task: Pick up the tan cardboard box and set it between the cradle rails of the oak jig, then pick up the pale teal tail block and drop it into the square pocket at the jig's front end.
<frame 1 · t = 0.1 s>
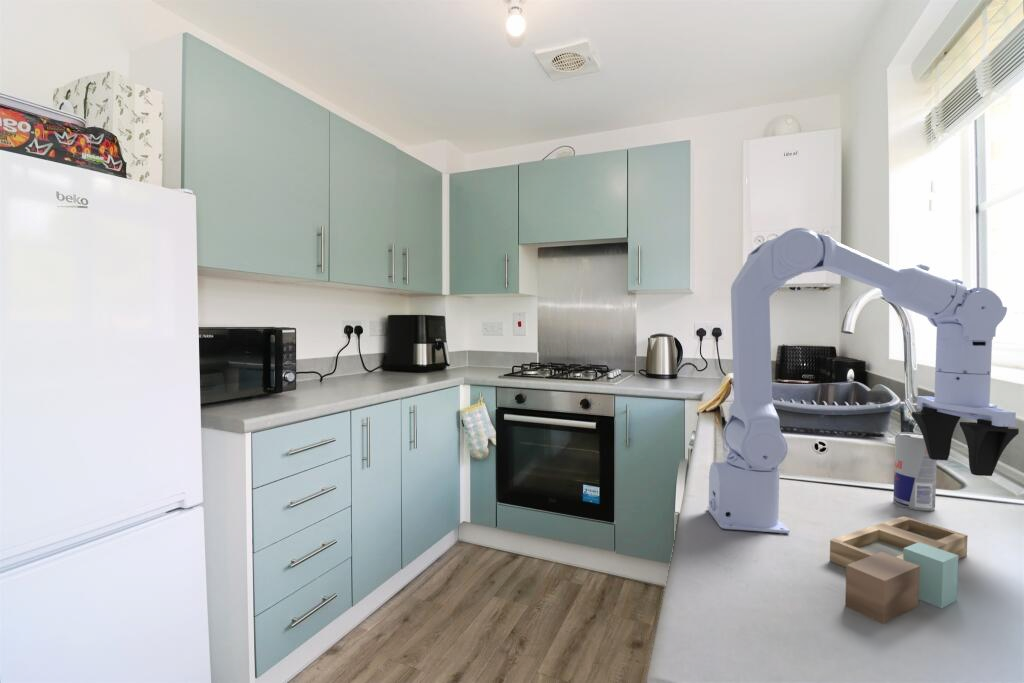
hand: (958, 466, 67), 10 cm above the counter, tool pointing down, fingers open, 7 cm apart
jig: (899, 558, 60), on the counter
tan cardboard box: (881, 606, 50), on the counter
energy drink: (913, 506, 79), on the counter
tail block: (929, 596, 52), on the counter
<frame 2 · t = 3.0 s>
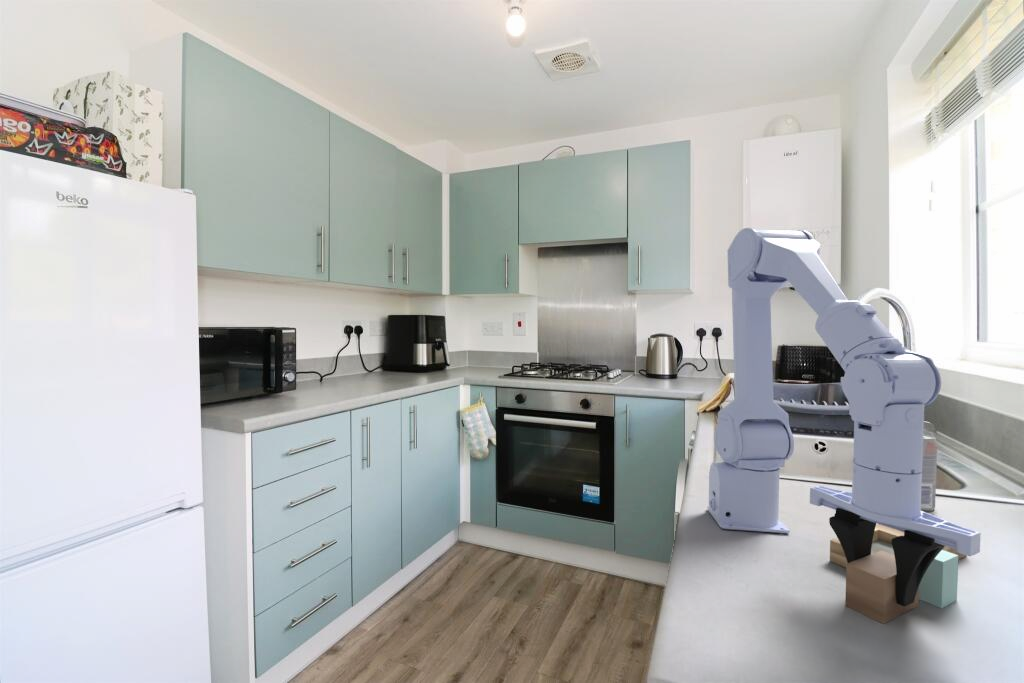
hand: (882, 592, 50), 1 cm above the counter, tool pointing down, fingers closed on tan cardboard box, 3 cm apart
tan cardboard box: (881, 605, 50), on the counter, touching gripper
everything else where it was.
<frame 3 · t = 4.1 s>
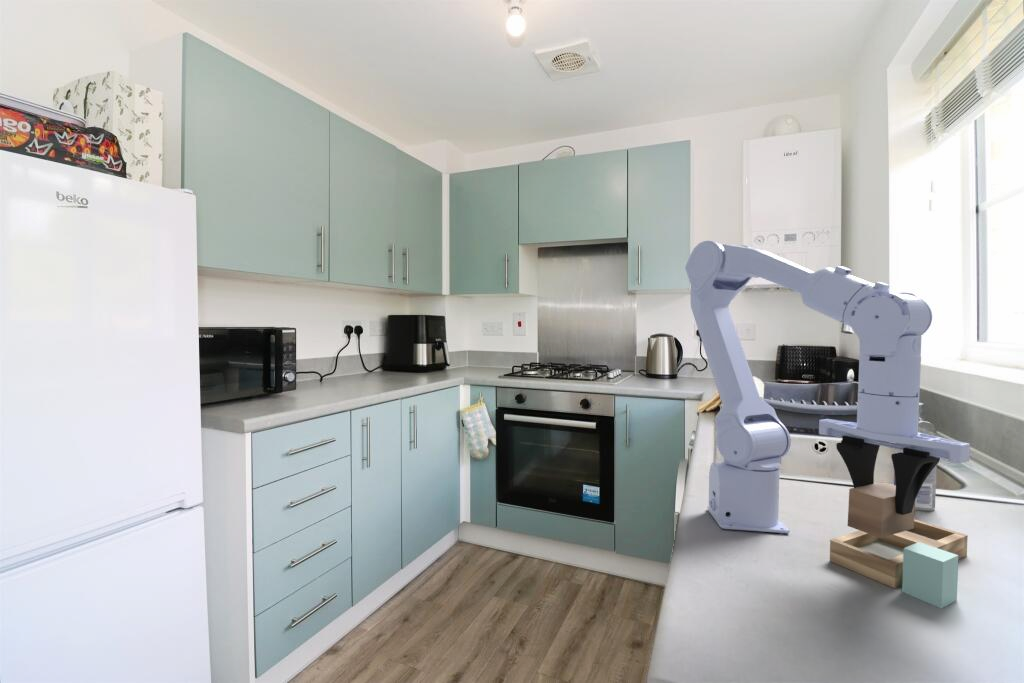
hand: (883, 506, 56), 8 cm above the counter, tool pointing down, fingers closed on tan cardboard box, 3 cm apart
tan cardboard box: (880, 527, 56), point 6 cm above the counter, touching gripper
everything else where it was.
when the fingers open (4 cm above the counter, at t = 5.5 s): tan cardboard box stays where it is, resting on jig.
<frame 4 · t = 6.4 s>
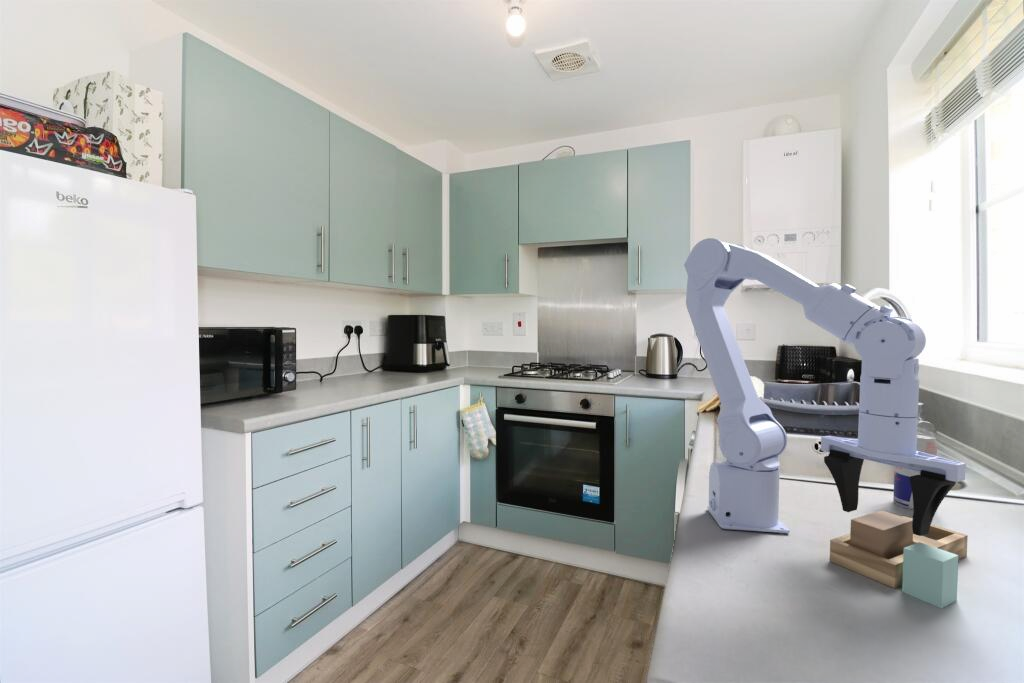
hand: (883, 521, 58), 6 cm above the counter, tool pointing down, fingers open, 7 cm apart
tan cardboard box: (881, 555, 58), point 1 cm above the counter, touching jig
everything else where it was.
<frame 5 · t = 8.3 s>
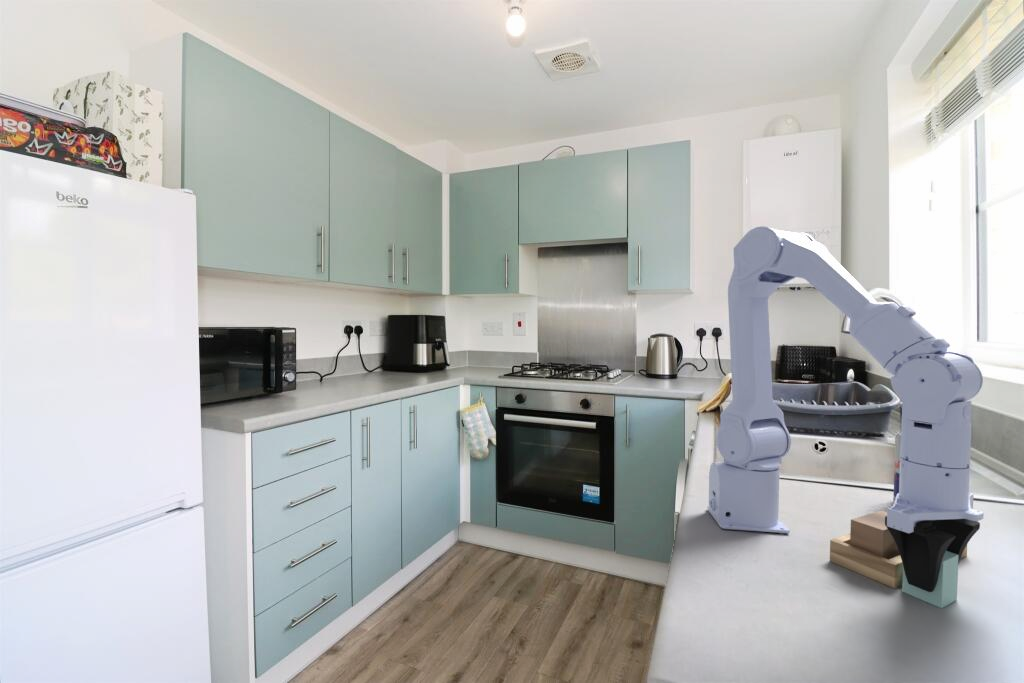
hand: (929, 582, 52), 1 cm above the counter, tool pointing down, fingers closed on tail block, 3 cm apart
tail block: (929, 595, 52), on the counter, touching gripper
everything else where it was.
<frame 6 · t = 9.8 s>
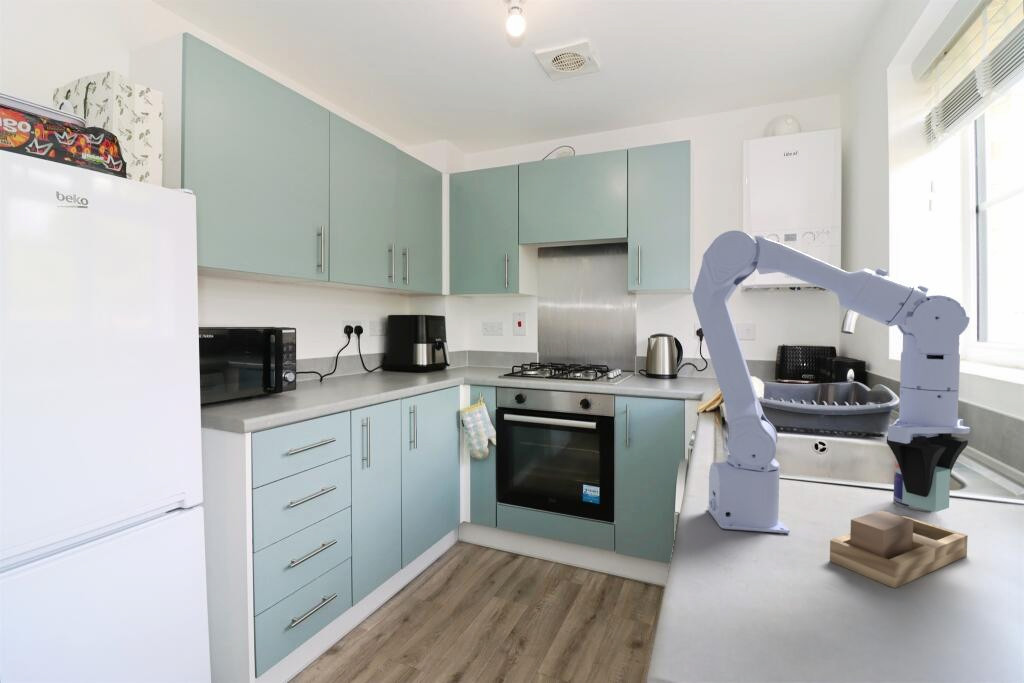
hand: (924, 492, 61), 8 cm above the counter, tool pointing down, fingers closed on tail block, 3 cm apart
tail block: (925, 505, 61), point 7 cm above the counter, touching gripper
everything else where it was.
when the fingers open (4 cm above the counter, at t = 11.2 s): tail block stays where it is, resting on jig.
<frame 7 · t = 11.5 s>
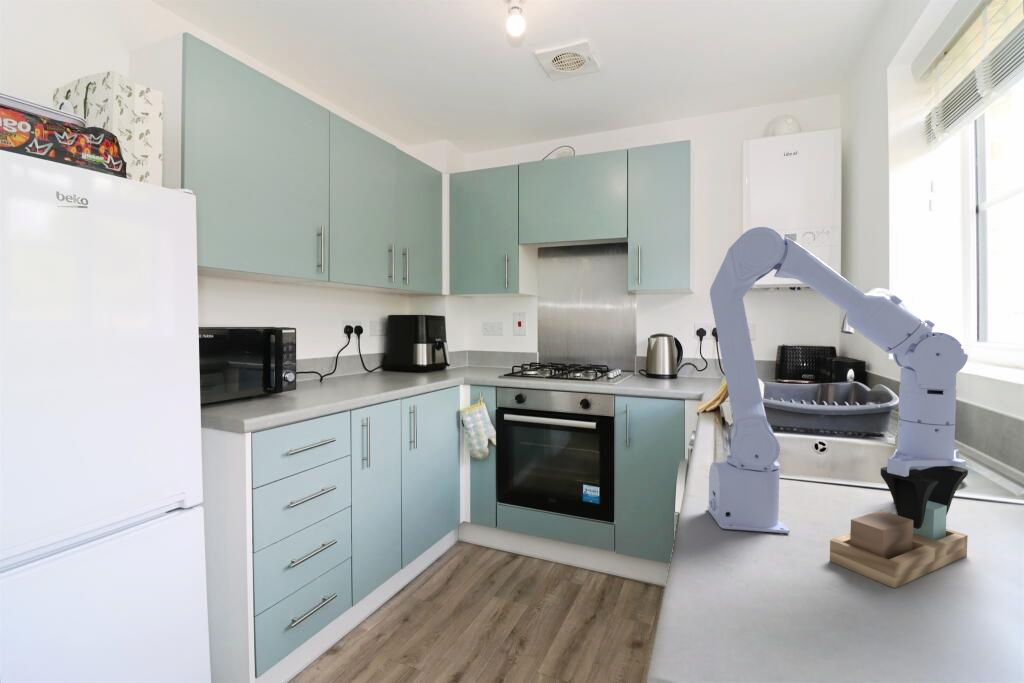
hand: (922, 521, 63), 4 cm above the counter, tool pointing down, fingers open, 6 cm apart
tail block: (922, 540, 63), point 1 cm above the counter, touching jig
everything else where it was.
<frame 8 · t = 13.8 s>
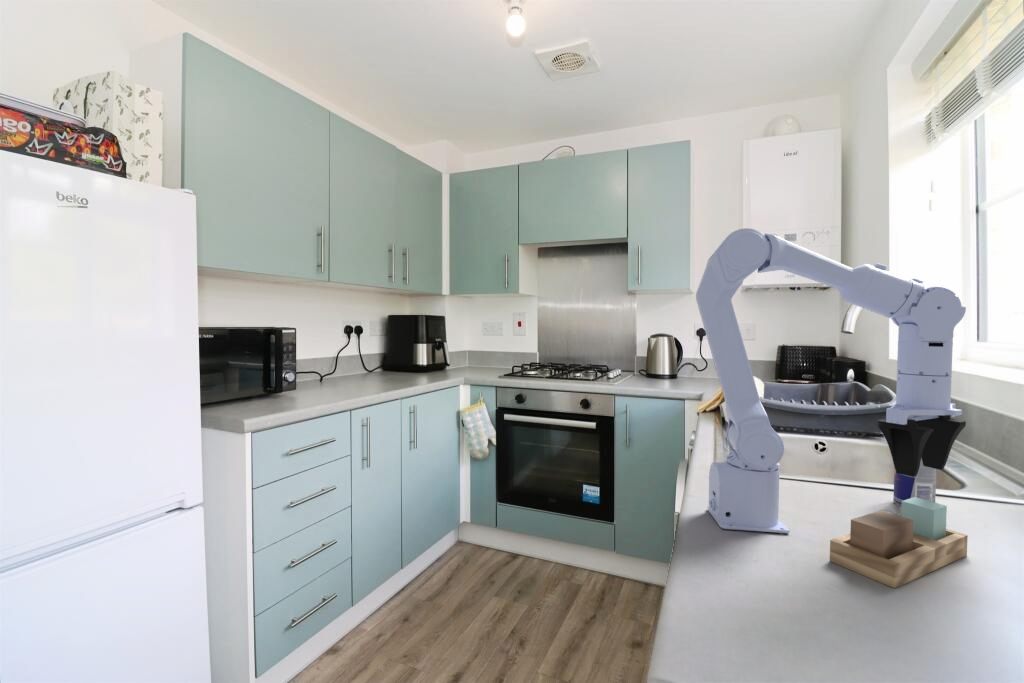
hand: (920, 471, 65), 10 cm above the counter, tool pointing down, fingers open, 7 cm apart
nothing on the counter moved.
at the end: tan cardboard box 0.6 cm from the target spot, point 1.3 cm above the counter; tail block 0.1 cm from the target spot, point 1.3 cm above the counter; tail block tilted 0° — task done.
